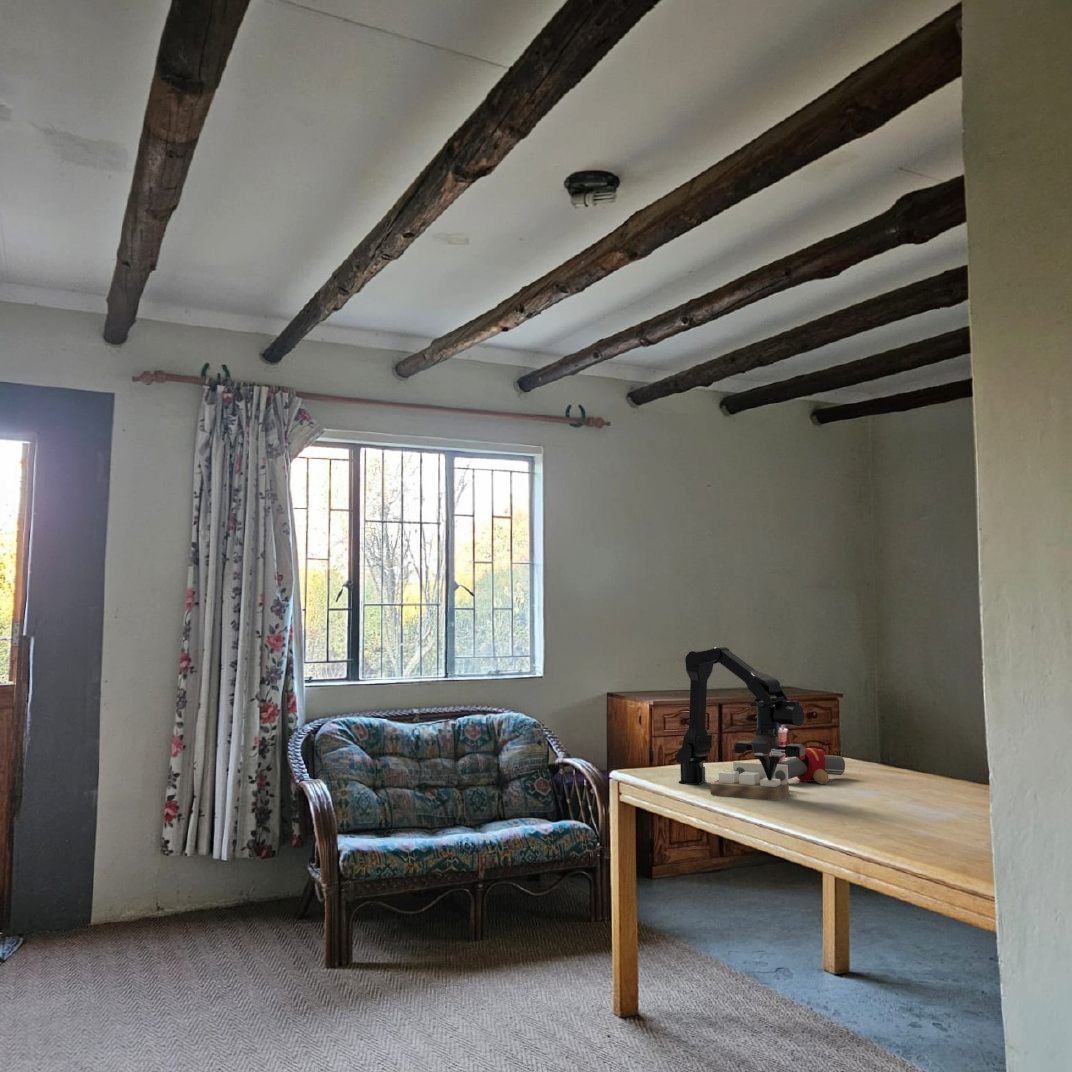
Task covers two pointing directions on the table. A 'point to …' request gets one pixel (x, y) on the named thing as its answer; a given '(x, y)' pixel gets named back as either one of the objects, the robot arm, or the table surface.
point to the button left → (729, 777)
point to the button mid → (749, 778)
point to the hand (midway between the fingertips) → (770, 780)
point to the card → (762, 770)
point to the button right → (770, 782)
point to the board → (750, 790)
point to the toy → (814, 766)
